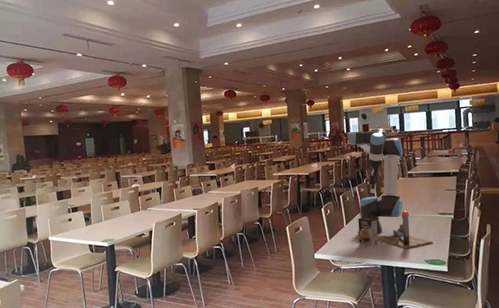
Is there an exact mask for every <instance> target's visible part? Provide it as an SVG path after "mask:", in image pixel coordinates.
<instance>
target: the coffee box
mask: <svg viewBox="0 0 499 308" xmlns="http://www.w3.org/2000/svg"><path fill="white" fill-rule="evenodd" d="M357 220H358V236H359V237H358V239H359V240H358V242H359V246H364V247H370V248H375V247H377V246H378V245H379V243H378V241H379V240H378V234H377V219H373V218H366V217H363V218H361V217H360V218H358V219H357Z"/></svg>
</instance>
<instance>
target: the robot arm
mask: <svg viewBox="0 0 499 308" xmlns="http://www.w3.org/2000/svg"><path fill="white" fill-rule="evenodd" d="M348 143H349V144H350V145H352V146H353V145H355V146H356V145H357V146H359V147H360V148H362V150H363V151H364V152H365V153H367V154H368V155H369V158H368V165H369V166H371V167H370V172H369V177H370V178H369V184H370V193H371V194H376V190H377V184H378V177H379V170H380V167H382V164H383V163H384V164H383V165H384V166H383V168H384V169H383V170H384V171H383V175H384V177H383V194H382V195H381V197H380V198H378V196H367V197H363V198H361V199H360V200H359V208H360V209H359V210H360V218H363V217H366V218H373V219H377V235H379V234H381V233H382V232H383V228H382V224H381V222H380V219H379V218H380V217H381V218H383V217H384V218H385V217H386V218H399V217H400V216H402V212H403V200H402V198H400V195H398V189H399V188H398V180H399V179H398V176H399V175H398V173H399V170H398V168H399V167H398V166H399V165H398V164H399V163H398V162H399V160H400V159H401V156H402V155H403V153H404V152H403V145H402V142H401V139H400V138H398V137H397V138H395V137H394V138H393V137H392V138H387V132H386V130H385V129H383V128H377V129H375V131H374V130H373V131H359V132H350V133H349V134H348ZM383 160H384V162H383Z"/></svg>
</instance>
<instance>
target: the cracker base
mask: <svg viewBox="0 0 499 308" xmlns="http://www.w3.org/2000/svg"><path fill="white" fill-rule="evenodd" d="M397 230H398V231H399V232H400V233H403V223H402V224H401V223H400V224H399V227H398V229H397ZM377 239H378V241H380V242H383V243H386V244H389V245H392V246H396V247H398V248H401V249H404V250H409V249H413V248H417V247H422V246H426V245H427V246H428V245H432V244H433V241H432V240H429V239H425V238H422V237H419V236H415V235H412V234H409V241H410V244H404V243H403V242H402V241H401V240H400V239H399V238H397V237H396V236H394V235H393V234H392V235H388V236H387V235H386V236H383V237H377Z"/></svg>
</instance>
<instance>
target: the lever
mask: <svg viewBox="0 0 499 308" xmlns="http://www.w3.org/2000/svg"><path fill="white" fill-rule="evenodd" d="M409 216H410V214H409V212H408V211H402V212H401V217H402V224H403V233H400V232H399V231H398V229H397V230H393V231H392V233H393V234H392V235H394V236H396V237H397V238H399V239H400V240H401V241H402V242H403V243H404V244H410V241H409V235H410V224H409Z"/></svg>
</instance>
